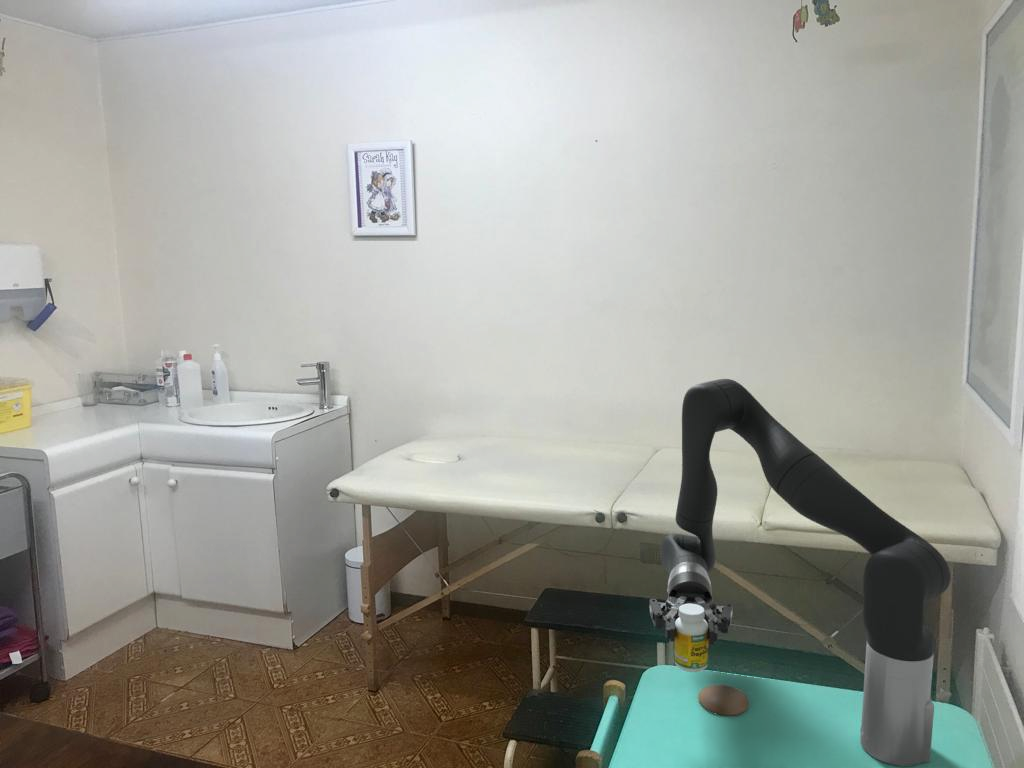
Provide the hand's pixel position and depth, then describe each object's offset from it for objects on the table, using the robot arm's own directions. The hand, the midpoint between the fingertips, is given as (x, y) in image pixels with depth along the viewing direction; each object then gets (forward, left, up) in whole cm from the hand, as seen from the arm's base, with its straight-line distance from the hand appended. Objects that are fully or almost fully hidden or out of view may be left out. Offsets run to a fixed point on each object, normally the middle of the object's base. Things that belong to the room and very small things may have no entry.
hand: (692, 637), depth 127 cm
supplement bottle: (0, -3, -6) cm, 7 cm away
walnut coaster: (-6, -11, -18) cm, 22 cm away
